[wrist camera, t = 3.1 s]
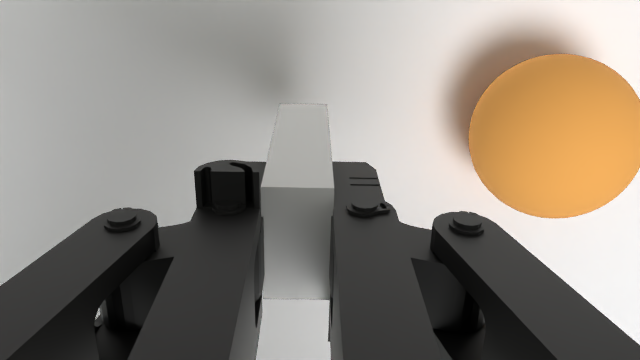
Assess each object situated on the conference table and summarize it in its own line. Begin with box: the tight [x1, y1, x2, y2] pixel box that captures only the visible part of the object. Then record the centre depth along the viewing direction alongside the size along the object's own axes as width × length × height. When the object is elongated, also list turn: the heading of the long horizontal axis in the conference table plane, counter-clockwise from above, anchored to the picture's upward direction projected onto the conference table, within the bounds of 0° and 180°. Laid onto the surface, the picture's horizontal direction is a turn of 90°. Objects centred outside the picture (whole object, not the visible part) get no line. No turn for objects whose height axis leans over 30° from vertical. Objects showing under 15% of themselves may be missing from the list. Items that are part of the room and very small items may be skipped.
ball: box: [468, 54, 640, 218], centre depth 20 cm, size 6×6×6 cm
